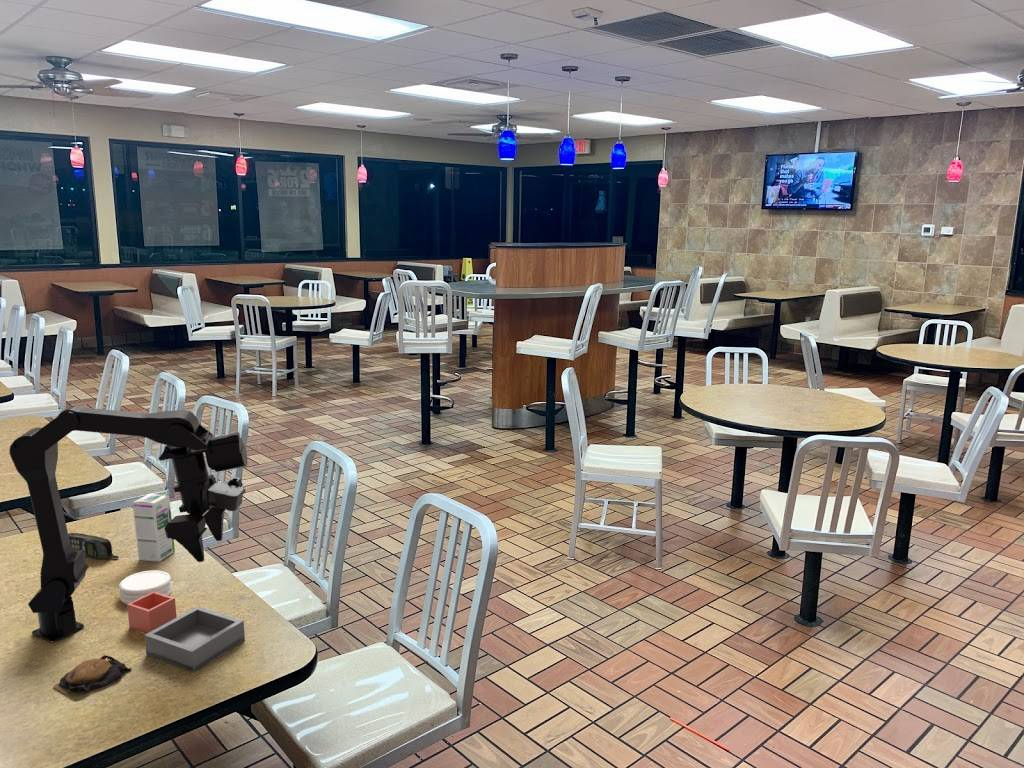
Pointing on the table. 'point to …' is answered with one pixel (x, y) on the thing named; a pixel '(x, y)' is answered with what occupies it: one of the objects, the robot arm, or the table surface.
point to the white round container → (144, 585)
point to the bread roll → (91, 677)
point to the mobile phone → (92, 546)
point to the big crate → (194, 638)
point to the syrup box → (153, 527)
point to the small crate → (151, 612)
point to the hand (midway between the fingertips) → (210, 550)
